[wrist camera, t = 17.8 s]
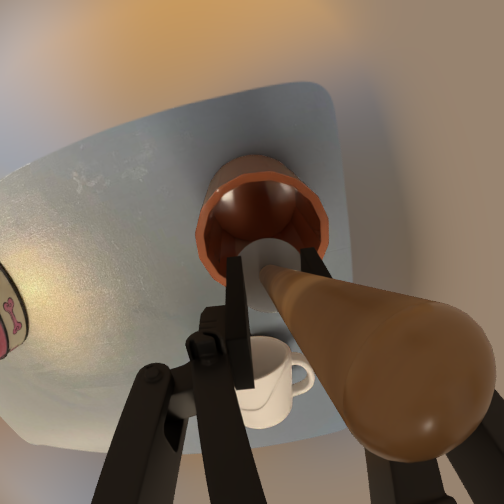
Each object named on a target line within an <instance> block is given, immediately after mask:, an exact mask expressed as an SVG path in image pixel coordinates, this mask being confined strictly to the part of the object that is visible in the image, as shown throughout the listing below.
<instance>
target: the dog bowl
mask: <svg viewBox="0 0 504 504" xmlns="http://www.w3.org/2000/svg"><path fill="white" fill-rule="evenodd" d="M27 334H28V318H27V314H26V310H25V307H24V304H23V302H22V299H21V297H20V295H19V293H18V291H17V289H16V287H15V285H14V284H13V282H12V281H11V279H10V278H9V276H8V274H7V273H6V271H5V270H4V269H3V268H2V266H1V265H0V360H1V359H4V358H5V357H6V356H7V354H8V353H9V352H11V351H12V350H13V349H15V348H16V347H18V346H20V345H21V344H22V343H23V342H24V341H25V340H26V338H27Z"/></svg>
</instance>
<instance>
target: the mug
mask: <svg viewBox="0 0 504 504" xmlns="http://www.w3.org/2000/svg"><path fill="white" fill-rule="evenodd" d="M250 340H251V351H252V363H253V374H254V384H255V389H246V390H236V389H235V391H236V395H237V399H238V403H239V407H240V410H241V414H242V418H243V422H244V425H245V426H247V427H250V428H255V429H262V428H268V427H271V426H274V425H276V424H278V423H280V422H281V421H282V420H284V419H285V418H286V417H287V415H288V414H289V412H290V410H291V408H292V397H293V396H296V395H299V394H302V393H304V392H306V391H308V390H309V389H310V388H311V387H312V386H313V384H314V380H315V375H314V371H313V369H312V367H311V366H310V364H309V362H308V361H307V359H306V357H305V356H304V355H303V354H300V353H297V352H291V350H290V348H289V346H288V345H287V344H286V343H284V342H282V341H281V340H279V339H276V338H273V337H268V336H251V337H250ZM292 365H300V366H302V367H303V368H305V370H306V371H307V376H306V378H305V379H304V380H302V381H300V382H298V383H295V384H292Z"/></svg>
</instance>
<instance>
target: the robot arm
mask: <svg viewBox="0 0 504 504" xmlns="http://www.w3.org/2000/svg"><path fill="white" fill-rule="evenodd" d="M300 257H301V272H305V273H310V274H314V275H319V276H323V277H327V278H332V277H331V275H330V273H329V271H328V270H327V268H326V266H325V265H324V263H323V261H322V259H321V258H320V256H319V254H318V253H317V251H316V249H315V248H314V247H310V248H301V249H300ZM332 279H333V278H332ZM185 346H186V349H187V352H188V355H189V358H190V362H188V363H186V364H185V365H182V366H180V367H176V368H173V369H169V367H168V366H166V365H165V364H162V363H151V364H149V365H146V366H144V367H143V368H142V369H140V370H139V372H138V373H137V375H136V378H135V380H134V383H133V385H132V388H131V390H130V393H129V396H128V398H127V401H126V404H125V406H124V409H123V411H122V414H121V417H120V420H119V422H118V425H117V428H116V431H115V433H114V436H113V439H112V442H111V445H110V447H109V450H108V453H107V456H106V459H105V462H104V465H103V468H102V471H101V475H100V477H99V480H98V484H97V486H96V489H95V493H94V496H93V499H92V502H91V504H173V500H174V494H175V488H176V483H177V477H178V472H179V466H180V461H181V456H182V450H183V445H184V440H185V435H186V430H187V424H188V419H189V417H192V416H195V415H197V422H198V430H199V437H200V443H201V450H202V456H203V462H204V469H205V475H206V481H207V486H208V492H209V497H210V502H211V504H267V502H266V498H265V496H264V492H263V489H262V485H261V482H260V479H259V475H258V472H257V468H256V465H255V462H254V458H253V454H252V451H251V447H250V444H249V440H248V437H247V433H246V429H245V425H244V422H243V418H242V414H241V410H240V407H239V403H238V399H237V395H236V391H235V389H236V390H246V389H255V384H254V374H253V363H252V351H251V340H250V329H249V318H248V306H247V296H246V289H245V281H244V274H243V266H242V258H241V256H234V257H227V264H226V305H222V306H213V307H206V308H205V309H204V311H203V312H202V313H201V316H200V324H199V331H197V332H195V333H193V334H191V335H190V336H189V337H188V338H187V340H186V343H185ZM364 448H365V447H364ZM365 456H366V463H367V471H368V480H369V489H370V499H371V504H457V503H456V501H455V499H454V498H453V497H451V496H448V495H447V494H446V493H445V491H444V488H443V483H442V480H441V475H440V471H439V468H438V463H437V459H436V458H434V459H431V460H427V461H422V462H414V463H405V462H397V461H391V460H387V459H384V458H382V457H380V456H377V455H376V454H374V453H372V452H370V451H368V450H367V449H366V448H365ZM446 456H447V457H448V459H449V461H450V462H451V464H452V466H453V468H454V469H455V471H456V472H457V474H458V476H459V478H460V480H461V481H462V483H463V485H464V487H465V488H466V490H467V492H468V494H469V495H470V497H471V499H472V501H473V503H474V504H504V399H503V398H502V397H501V396H500V395H499V393H498V392H497V391H496V390H495V389H494V393H493V396H492V400H491V403H490V405H489V408H488V410H487V412H486V414H485V416H484V418H483V420H482V421H481V423H480V424H479V426H478V427H477V428H476V430H475V431H474V432H473V433H472V434H471V435H470V436H469V437H468V438H467V439H466V440H465V441H464V442H462V443H461V444H460V445H458V446H457V447H455V448H454V449H453V450H451V451H450V452H448V453H446Z"/></svg>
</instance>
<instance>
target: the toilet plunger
mask: <svg viewBox="0 0 504 504" xmlns="http://www.w3.org/2000/svg"><path fill="white" fill-rule="evenodd" d="M238 256H241V258H242V266H243V274H244V281H245V289H246V296H247V306H249V307H250V308H252V309H254V310H257V311H260V312H266V313H273V312H279V314H280V315H281V317H282V319H283V320H284V322H285V324H286V325H287V327H288V329H289V330H290V332H291V334H292V335H293V337H294V339H295V340H296V342H297V344H298V345H299V347H300V349H301V350H302V352H303V354H304V356H305V357H306V359H307V361H308V362H309V364H310V366H311V367H312V369H313V371H314V372H315V374H316V376H317V377H318V379H319V381H320V382H321V384H322V385H323V387H324V389H325V390H326V392H327V394H328V395H329V397H330V399H331V400H332V402H333V404H334V405H335V407H336V409H337V410H338V412H339V414H340V415H341V417H342V419H343V420H344V422H345V424H346V425H347V427H348V428H349V430H350V432H351V433H352V434H353V436H354V437H355V438H356V439H357V440H358V442H359V443H360V444H361V445H363V446H364V447H365V448H366V449H367V450H368V451H370V452H372V453H374V454H376V455H377V456H380V457H382V458H384V459H387V460H391V461H397V462H405V463H414V462H422V461H427V460H431V459H434V458H437V457H440V456H442V455H444V454H446V453H448V452H450V451H451V450H453V449H454V448H455V447H457V446H458V445H460V444H461V443H462V442H464V441H465V440H466V439H467V438H468V437H469V436H470V435H471V434H472V433H473V432H474V431H475V430H476V428H477V427H478V426H479V424H480V423H481V421H482V420H483V418H484V416H485V414H486V412H487V410H488V408H489V405H490V403H491V400H492V396H493V393H494V389H495V382H496V365H495V358H494V353H493V349H492V346H491V344H490V342H489V340H488V338H487V336H486V335H485V333H484V331H483V329H482V328H481V327H480V326H479V325H478V324H477V323H476V322H475V321H474V320H473V319H472V318H471V317H470V316H469V315H468V314H467V313H465V312H463V311H461V310H459V309H457V308H455V307H453V306H450V305H448V304H444V303H440V302H436V301H431V300H427V299H422V298H417V297H412V296H408V295H404V294H399V293H395V292H390V291H386V290H381V289H376V288H372V287H367V286H363V285H359V284H354V283H350V282H345V281H341V280H336V279H332V278H327V277H323V276H319V275H314V274H310V273H305V272H301V257H300V253H299V252H298V251H297V250H296V249H295V248H294V247H293V246H292V245H291V244H289V243H287V242H285V241H283V240H280V239H275V238H264V239H259V240H256V241H254V242H252V243H250V244H249V245H247V246H246V247H245V248H244V249H243V250H242V251H241V252H240V253H239V255H238Z"/></svg>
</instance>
